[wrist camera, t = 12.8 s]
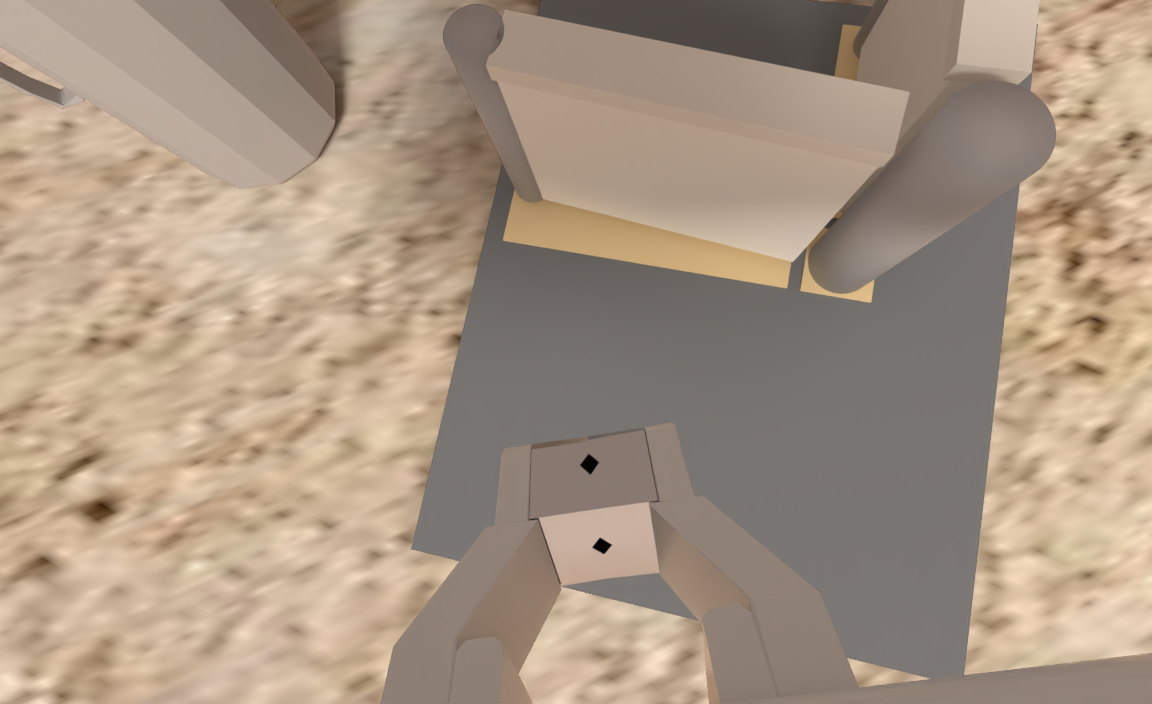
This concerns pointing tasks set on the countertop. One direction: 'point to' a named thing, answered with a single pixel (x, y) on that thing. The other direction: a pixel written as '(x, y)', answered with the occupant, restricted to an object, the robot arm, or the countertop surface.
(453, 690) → the robot arm
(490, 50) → the beige rectangular panel
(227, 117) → the water bottle
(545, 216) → the mat
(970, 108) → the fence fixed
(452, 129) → the countertop surface
